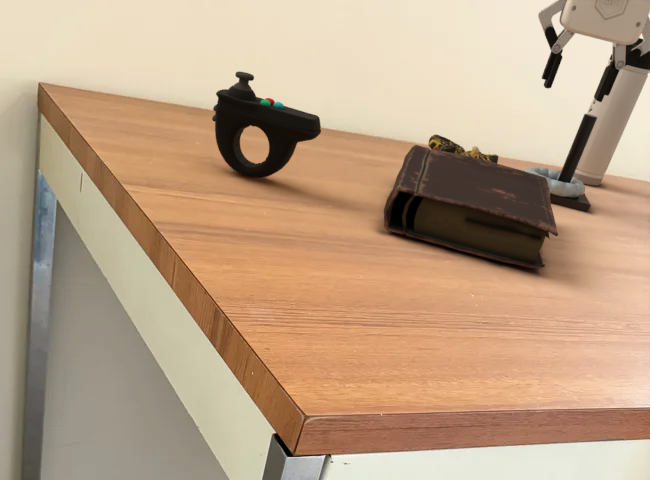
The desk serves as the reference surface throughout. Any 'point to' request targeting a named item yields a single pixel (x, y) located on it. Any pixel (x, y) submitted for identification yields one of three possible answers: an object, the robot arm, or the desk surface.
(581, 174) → the travel mug
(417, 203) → the diary
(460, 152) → the toy snake
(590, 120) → the stand
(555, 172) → the ring
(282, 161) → the controller
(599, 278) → the desk surface
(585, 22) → the robot arm
